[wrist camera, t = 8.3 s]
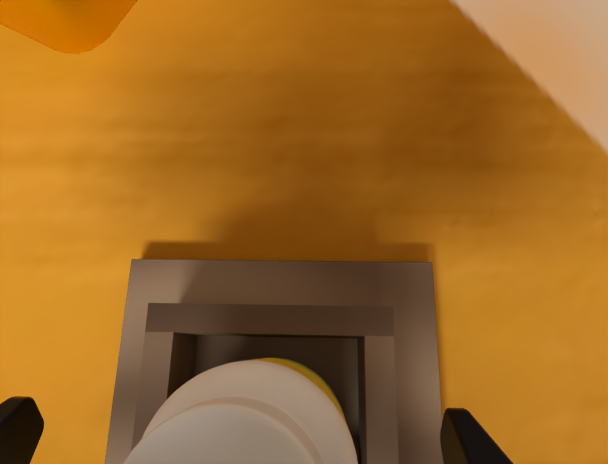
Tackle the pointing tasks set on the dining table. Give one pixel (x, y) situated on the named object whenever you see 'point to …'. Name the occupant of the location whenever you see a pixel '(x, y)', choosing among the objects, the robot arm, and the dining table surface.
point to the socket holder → (288, 342)
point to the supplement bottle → (249, 419)
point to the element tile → (65, 21)
